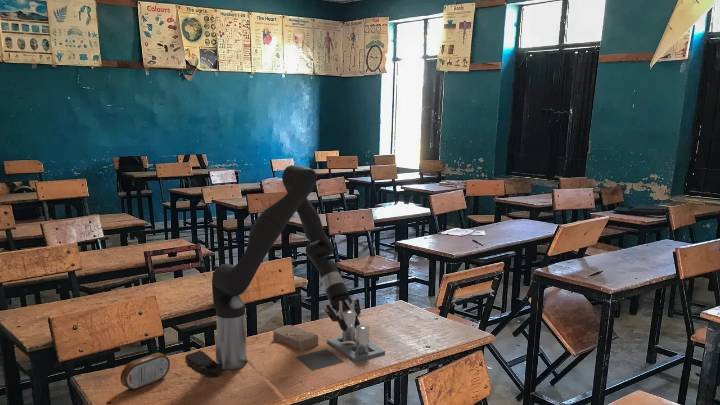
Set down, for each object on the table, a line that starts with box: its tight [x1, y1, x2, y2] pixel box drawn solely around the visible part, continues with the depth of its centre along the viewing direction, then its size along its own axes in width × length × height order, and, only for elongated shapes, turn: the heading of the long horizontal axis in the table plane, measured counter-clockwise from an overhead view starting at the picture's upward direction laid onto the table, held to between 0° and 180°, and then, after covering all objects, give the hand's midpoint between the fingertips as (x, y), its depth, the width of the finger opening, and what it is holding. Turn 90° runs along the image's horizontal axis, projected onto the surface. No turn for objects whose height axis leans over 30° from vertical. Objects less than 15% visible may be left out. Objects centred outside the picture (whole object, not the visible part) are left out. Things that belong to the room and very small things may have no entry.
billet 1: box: [341, 309, 356, 342], centre depth 190 cm, size 5×5×10 cm
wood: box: [185, 350, 222, 378], centre depth 175 cm, size 22×7×3 cm, turn 39°
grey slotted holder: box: [326, 332, 386, 363], centre depth 187 cm, size 12×19×2 cm, turn 32°
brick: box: [272, 324, 319, 351], centre depth 193 cm, size 17×8×5 cm, turn 47°
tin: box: [120, 352, 171, 390], centre depth 162 cm, size 15×3×8 cm, turn 142°
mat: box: [295, 348, 345, 372], centre depth 178 cm, size 12×12×1 cm
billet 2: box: [355, 324, 370, 355], centre depth 183 cm, size 5×5×10 cm
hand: (351, 328), depth 189 cm, fingers closed on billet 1, 4 cm apart
